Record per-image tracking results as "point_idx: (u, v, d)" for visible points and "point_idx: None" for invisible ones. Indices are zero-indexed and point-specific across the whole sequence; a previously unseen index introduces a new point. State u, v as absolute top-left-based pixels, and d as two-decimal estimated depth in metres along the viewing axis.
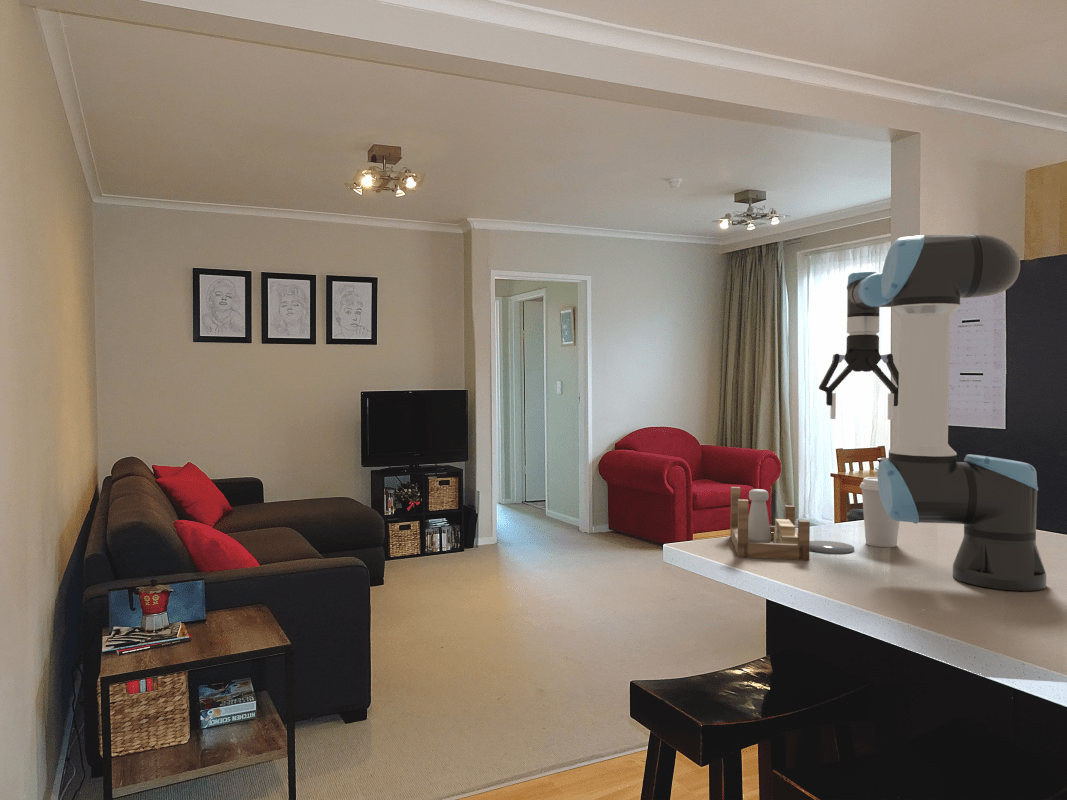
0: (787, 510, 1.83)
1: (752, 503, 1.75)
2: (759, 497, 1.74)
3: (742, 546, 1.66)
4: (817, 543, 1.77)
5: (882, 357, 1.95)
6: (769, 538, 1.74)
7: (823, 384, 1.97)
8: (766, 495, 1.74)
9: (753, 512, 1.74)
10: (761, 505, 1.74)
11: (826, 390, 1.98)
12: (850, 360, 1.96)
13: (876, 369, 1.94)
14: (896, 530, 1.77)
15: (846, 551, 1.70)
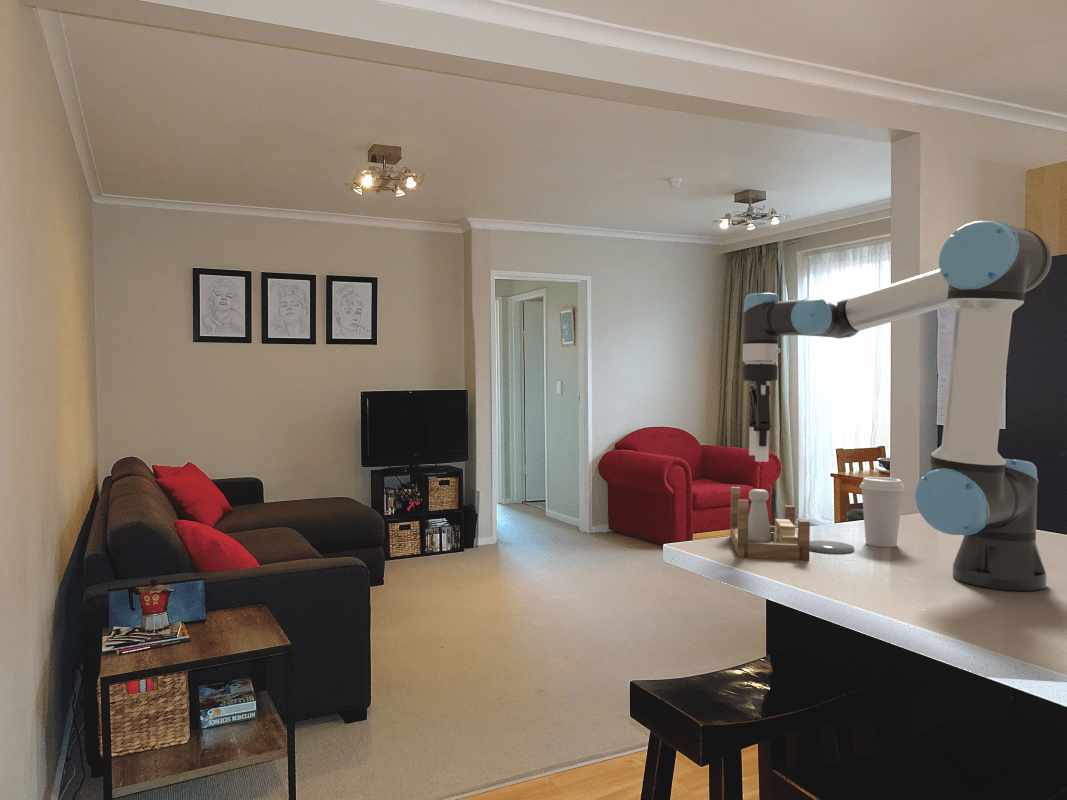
0: (787, 510, 1.83)
1: (752, 503, 1.75)
2: (759, 497, 1.74)
3: (742, 546, 1.66)
4: (817, 543, 1.77)
5: None
6: (769, 538, 1.74)
7: (749, 417, 1.85)
8: (766, 495, 1.74)
9: (753, 512, 1.74)
10: (761, 505, 1.74)
11: None
12: None
13: (753, 402, 1.73)
14: (896, 530, 1.77)
15: (846, 551, 1.70)
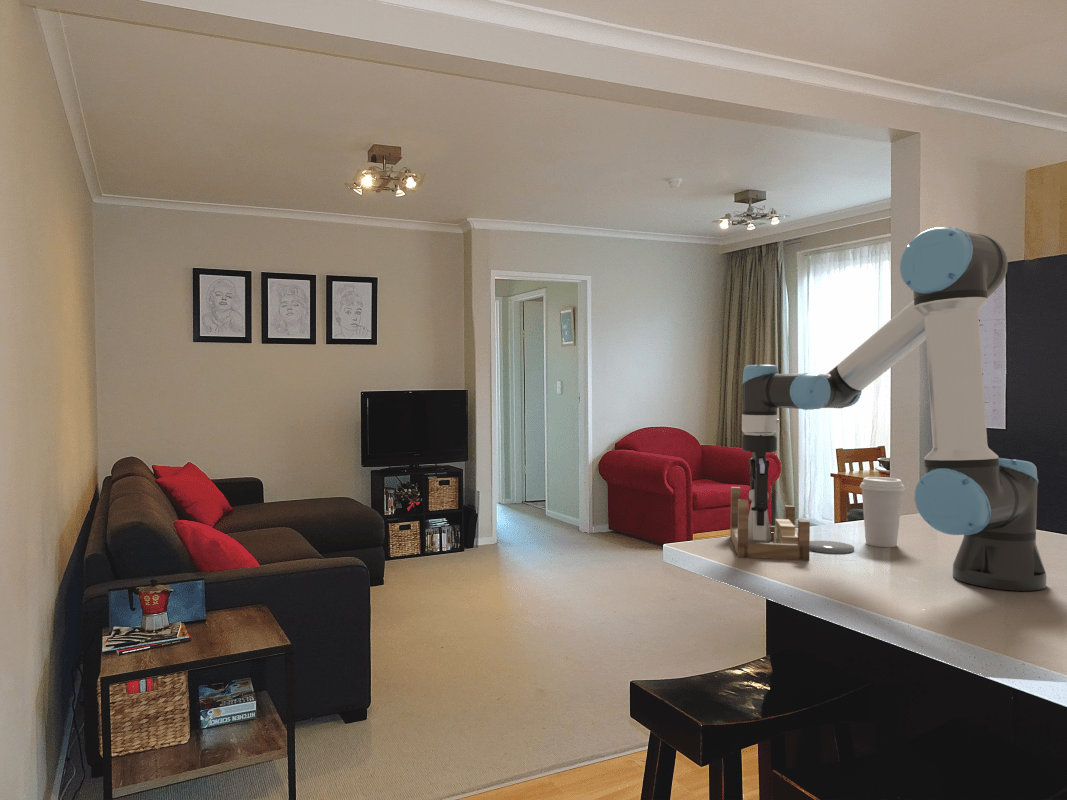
0: (787, 510, 1.83)
1: (752, 503, 1.75)
2: None
3: (742, 546, 1.66)
4: (817, 543, 1.77)
5: (759, 464, 1.71)
6: (769, 538, 1.74)
7: None
8: None
9: None
10: None
11: None
12: None
13: (751, 475, 1.74)
14: (896, 530, 1.77)
15: (846, 551, 1.70)
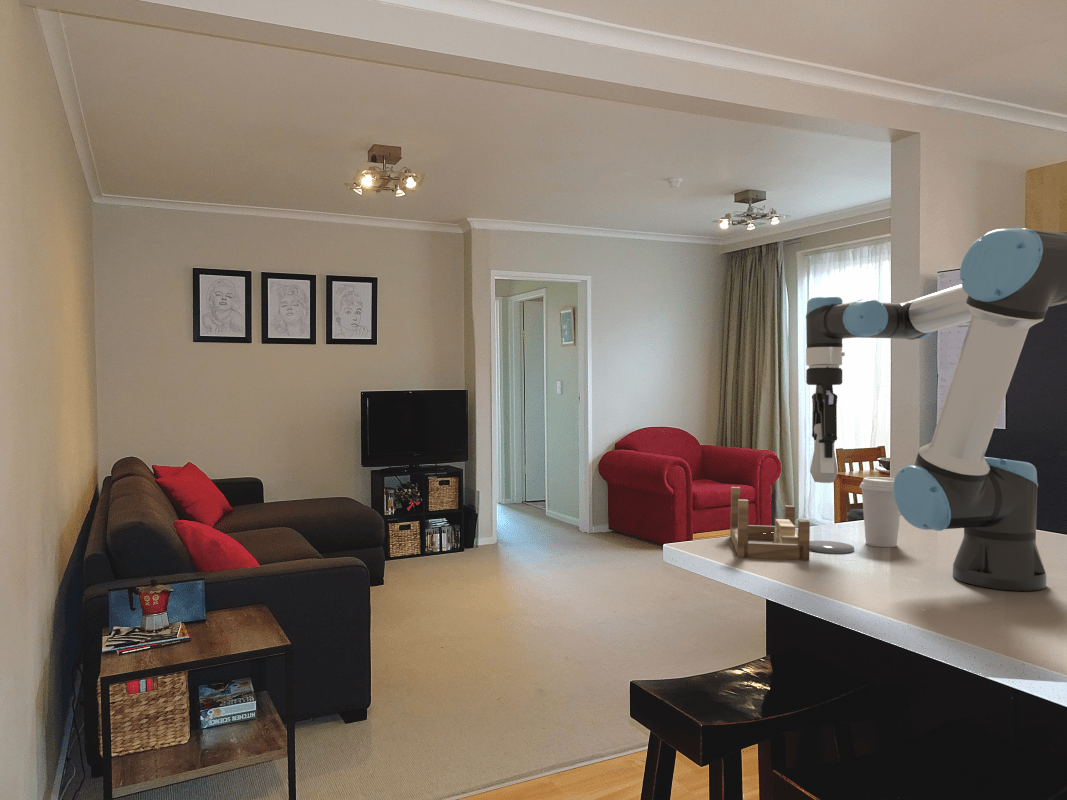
0: (787, 510, 1.83)
1: (818, 437, 1.74)
2: None
3: (742, 546, 1.66)
4: (817, 543, 1.77)
5: None
6: (836, 471, 1.72)
7: (812, 431, 1.81)
8: None
9: (819, 446, 1.73)
10: None
11: None
12: None
13: (818, 408, 1.73)
14: (896, 530, 1.77)
15: (846, 551, 1.70)
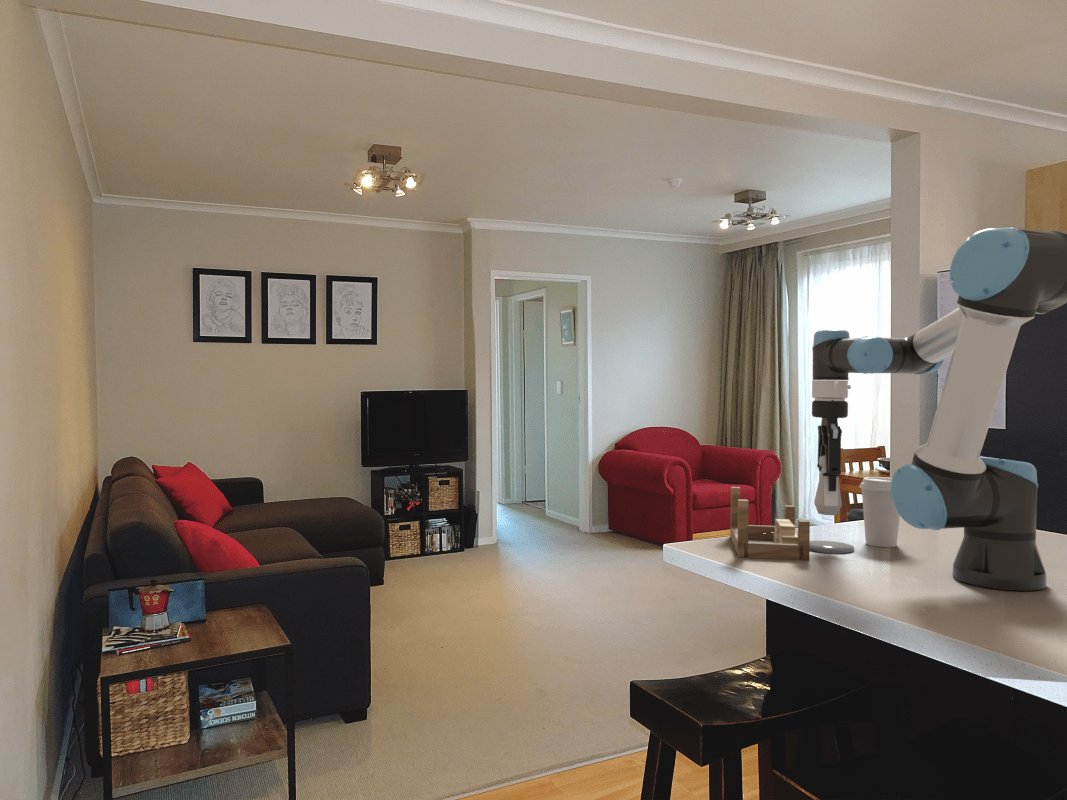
0: (787, 510, 1.83)
1: (822, 469, 1.75)
2: None
3: (742, 546, 1.66)
4: (817, 543, 1.77)
5: None
6: (840, 504, 1.73)
7: None
8: None
9: (824, 478, 1.74)
10: None
11: None
12: None
13: (822, 441, 1.73)
14: (896, 530, 1.77)
15: (846, 551, 1.70)
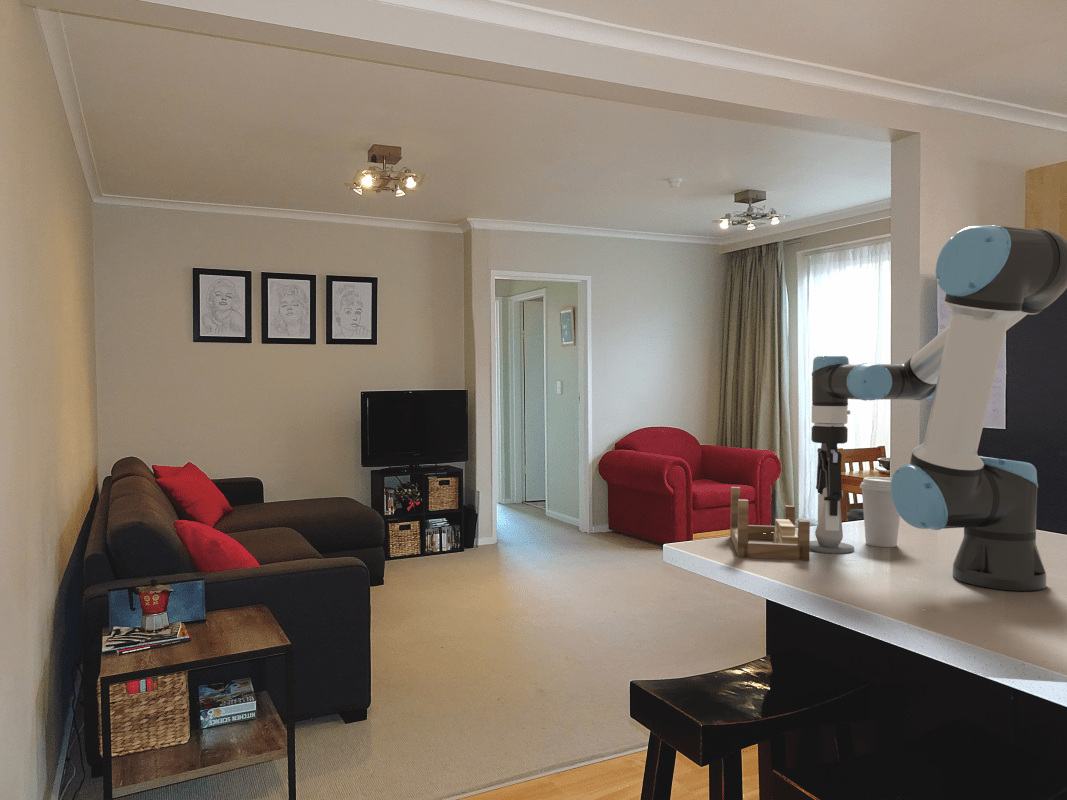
0: (787, 510, 1.83)
1: None
2: None
3: (742, 546, 1.66)
4: (817, 543, 1.77)
5: None
6: (841, 537, 1.73)
7: None
8: None
9: None
10: None
11: None
12: None
13: (823, 466, 1.73)
14: (896, 530, 1.77)
15: (846, 551, 1.70)
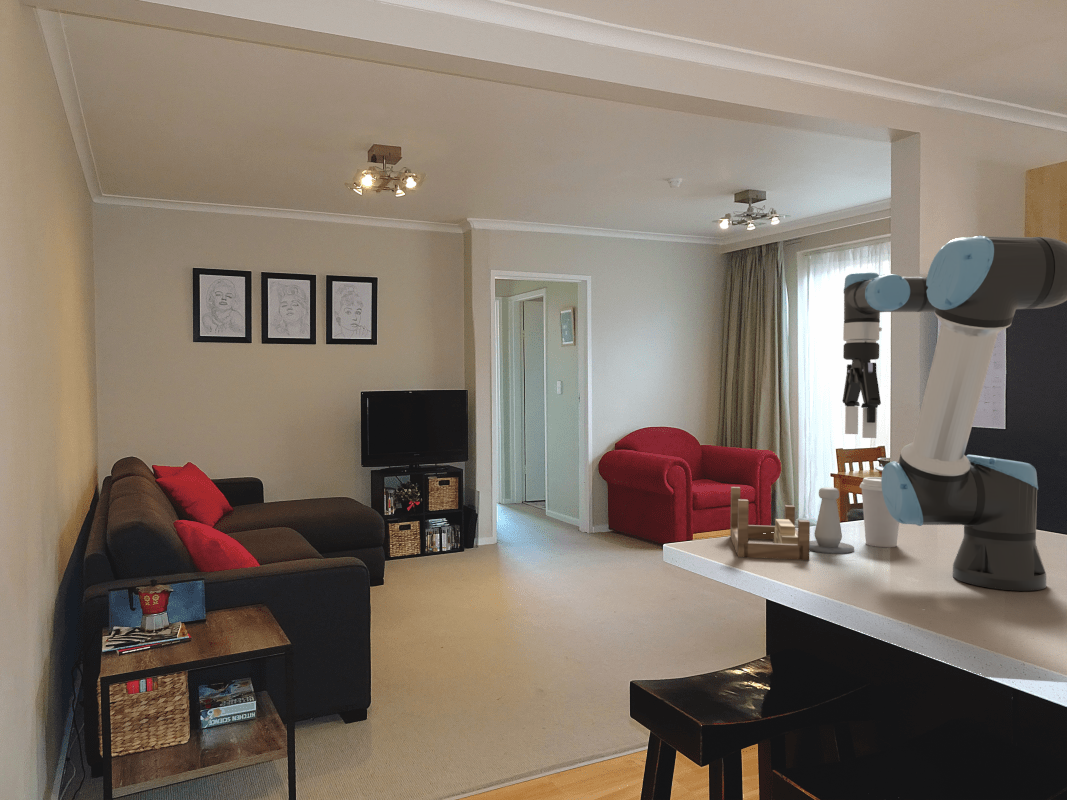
0: (787, 510, 1.83)
1: (822, 501, 1.75)
2: (830, 495, 1.73)
3: (742, 546, 1.66)
4: (817, 543, 1.77)
5: None
6: (840, 536, 1.73)
7: (843, 397, 1.87)
8: (837, 493, 1.73)
9: (824, 511, 1.74)
10: (831, 504, 1.73)
11: None
12: None
13: (857, 380, 1.75)
14: (896, 530, 1.77)
15: (846, 551, 1.70)
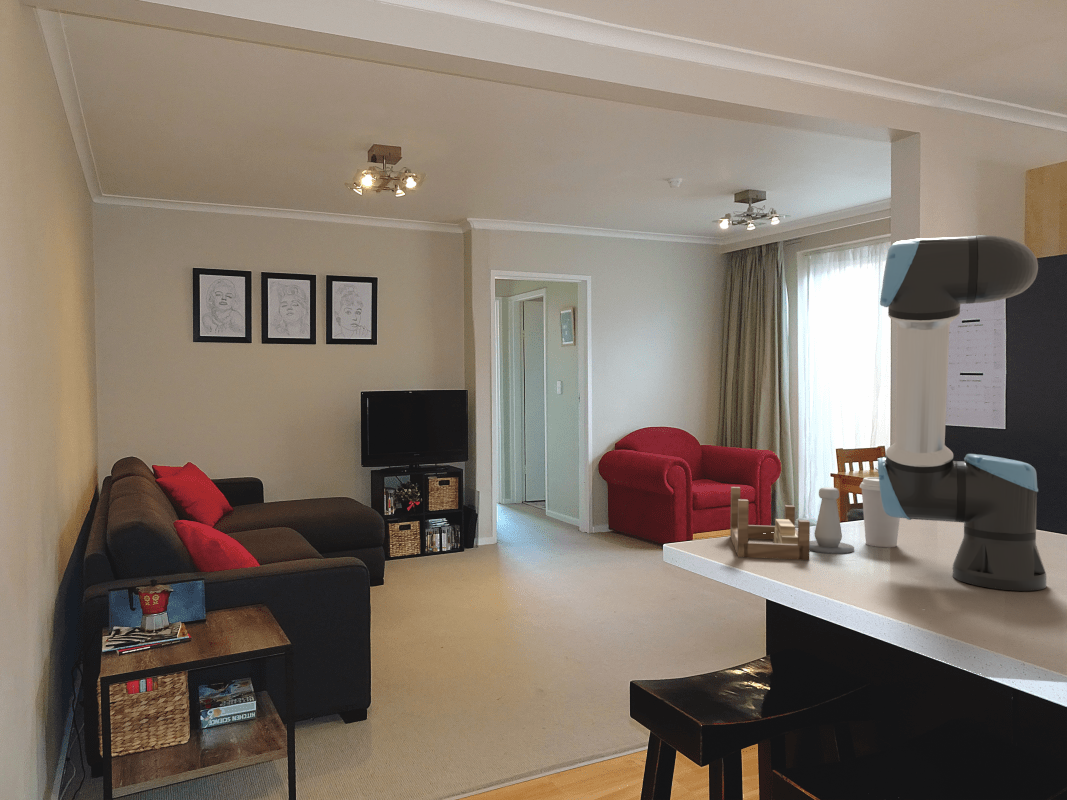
0: (787, 510, 1.83)
1: (822, 501, 1.75)
2: (830, 495, 1.73)
3: (742, 546, 1.66)
4: (817, 543, 1.77)
5: None
6: (840, 536, 1.73)
7: None
8: (837, 493, 1.73)
9: (824, 511, 1.74)
10: (832, 504, 1.73)
11: None
12: None
13: None
14: (896, 530, 1.77)
15: (846, 551, 1.70)
